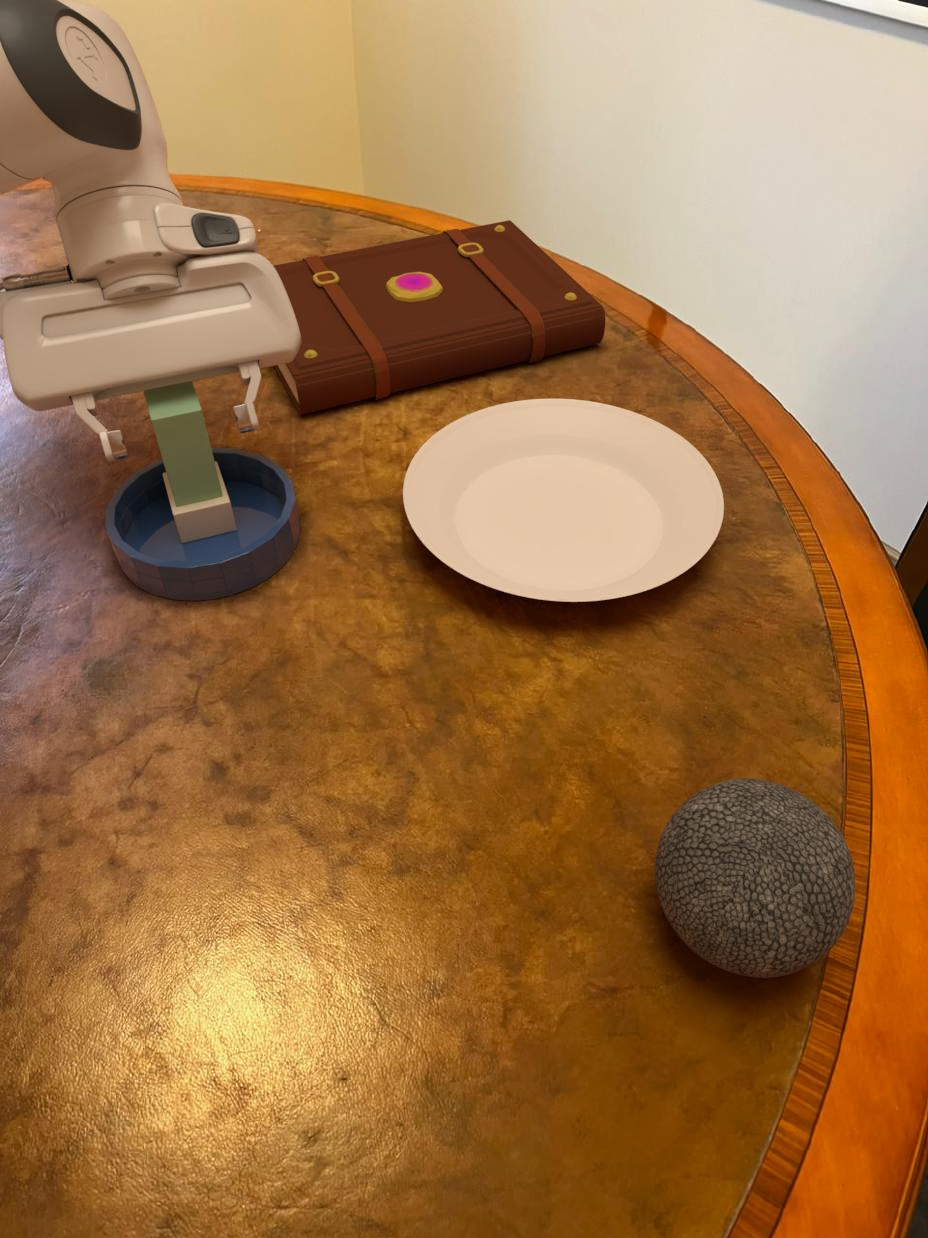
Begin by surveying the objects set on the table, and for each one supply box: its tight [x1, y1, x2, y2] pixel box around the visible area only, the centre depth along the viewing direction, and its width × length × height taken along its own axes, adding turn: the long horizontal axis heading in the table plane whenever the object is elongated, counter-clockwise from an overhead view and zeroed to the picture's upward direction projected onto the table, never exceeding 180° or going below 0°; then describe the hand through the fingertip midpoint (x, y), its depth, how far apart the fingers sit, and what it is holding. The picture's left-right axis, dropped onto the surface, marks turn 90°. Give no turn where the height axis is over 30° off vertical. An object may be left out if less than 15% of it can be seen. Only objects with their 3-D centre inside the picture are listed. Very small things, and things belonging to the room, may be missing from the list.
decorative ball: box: [654, 777, 856, 979], centre depth 49 cm, size 10×10×10 cm
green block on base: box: [143, 381, 237, 543], centre depth 72 cm, size 4×6×11 cm
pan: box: [104, 447, 301, 602], centre depth 73 cm, size 14×14×4 cm
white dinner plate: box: [402, 398, 725, 603], centre depth 74 cm, size 25×25×4 cm
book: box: [273, 219, 606, 415], centre depth 95 cm, size 23×32×5 cm
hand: (184, 444), depth 67 cm, fingers open, 8 cm apart
